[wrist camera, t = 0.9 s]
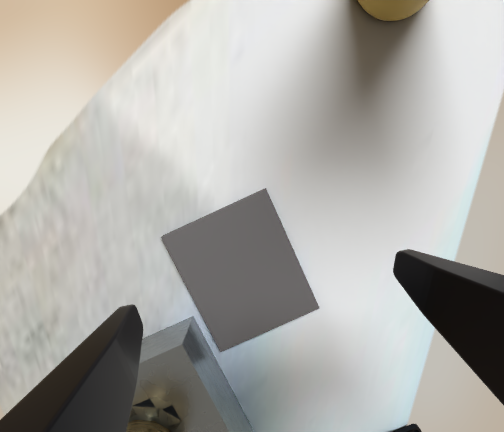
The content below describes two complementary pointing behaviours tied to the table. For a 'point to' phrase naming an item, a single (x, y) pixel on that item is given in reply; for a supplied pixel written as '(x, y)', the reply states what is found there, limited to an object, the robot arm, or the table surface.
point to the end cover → (145, 426)
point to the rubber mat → (241, 270)
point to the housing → (184, 384)
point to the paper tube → (392, 8)
